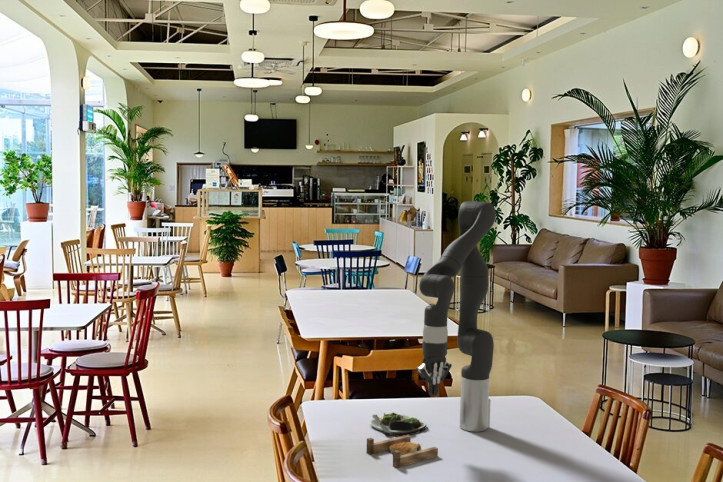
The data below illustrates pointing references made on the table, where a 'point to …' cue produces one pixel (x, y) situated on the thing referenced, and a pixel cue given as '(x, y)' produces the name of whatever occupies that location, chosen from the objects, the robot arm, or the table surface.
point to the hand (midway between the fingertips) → (433, 395)
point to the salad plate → (397, 424)
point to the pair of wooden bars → (398, 459)
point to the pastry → (405, 447)
